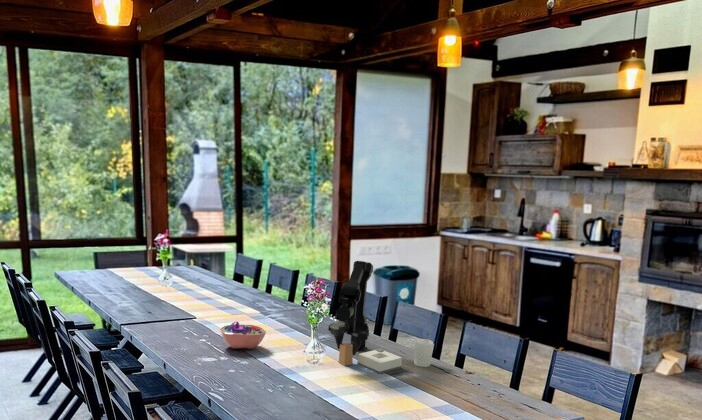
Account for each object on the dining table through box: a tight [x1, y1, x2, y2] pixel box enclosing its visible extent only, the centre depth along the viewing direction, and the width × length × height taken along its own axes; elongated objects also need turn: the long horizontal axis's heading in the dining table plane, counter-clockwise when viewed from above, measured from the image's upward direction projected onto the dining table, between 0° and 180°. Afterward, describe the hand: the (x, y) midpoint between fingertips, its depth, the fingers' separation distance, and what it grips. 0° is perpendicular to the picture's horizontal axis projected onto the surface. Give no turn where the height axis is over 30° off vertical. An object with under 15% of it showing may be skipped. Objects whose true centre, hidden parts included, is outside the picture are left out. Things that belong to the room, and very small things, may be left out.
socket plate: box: [357, 348, 403, 375], centre depth 228 cm, size 13×13×5 cm
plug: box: [338, 342, 354, 367], centre depth 228 cm, size 4×4×8 cm
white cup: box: [413, 338, 434, 368], centre depth 234 cm, size 8×8×10 cm
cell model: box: [219, 321, 267, 350], centre depth 239 cm, size 17×20×11 cm
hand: (346, 352), depth 228 cm, fingers open, 9 cm apart
